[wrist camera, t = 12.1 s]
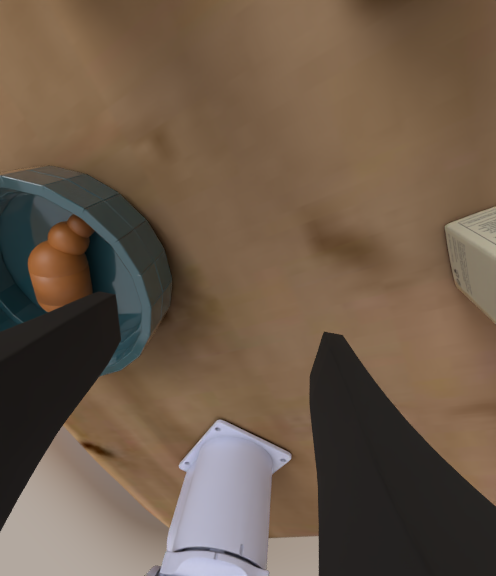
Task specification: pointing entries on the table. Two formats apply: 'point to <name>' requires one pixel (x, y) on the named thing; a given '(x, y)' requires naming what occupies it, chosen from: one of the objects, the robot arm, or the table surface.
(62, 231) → the croissant
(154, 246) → the bowl
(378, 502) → the robot arm
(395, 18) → the table surface
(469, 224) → the cosmetic box
